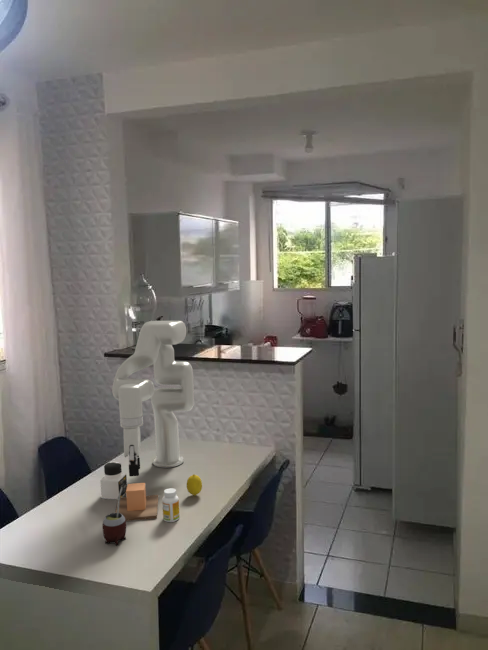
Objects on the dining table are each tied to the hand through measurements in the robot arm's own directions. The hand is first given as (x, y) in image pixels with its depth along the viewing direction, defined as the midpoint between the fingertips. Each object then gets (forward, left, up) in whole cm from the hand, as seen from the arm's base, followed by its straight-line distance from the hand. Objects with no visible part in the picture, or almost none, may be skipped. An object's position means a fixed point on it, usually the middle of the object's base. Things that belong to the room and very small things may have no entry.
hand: (134, 471), depth 192 cm
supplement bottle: (+9, +12, -14) cm, 20 cm away
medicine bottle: (-13, -9, -14) cm, 21 cm away
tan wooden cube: (0, 0, -12) cm, 12 cm away
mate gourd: (+20, -5, -14) cm, 25 cm away
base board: (0, 0, -13) cm, 13 cm away
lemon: (-7, +20, -14) cm, 25 cm away
